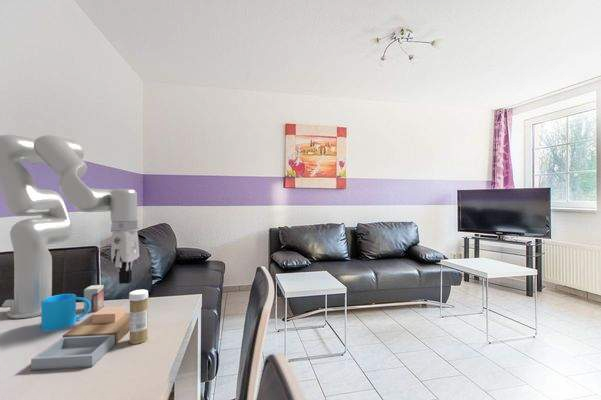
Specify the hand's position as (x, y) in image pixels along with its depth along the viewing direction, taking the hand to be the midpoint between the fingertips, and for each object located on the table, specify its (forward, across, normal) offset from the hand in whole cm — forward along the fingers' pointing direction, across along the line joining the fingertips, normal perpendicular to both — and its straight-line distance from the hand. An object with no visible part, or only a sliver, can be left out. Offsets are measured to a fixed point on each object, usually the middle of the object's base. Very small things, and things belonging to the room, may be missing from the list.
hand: (125, 282), depth 96 cm
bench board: (+11, -12, +1) cm, 16 cm away
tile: (+8, -9, +1) cm, 12 cm away
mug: (+11, -3, +16) cm, 20 cm away
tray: (+11, -24, +1) cm, 27 cm away
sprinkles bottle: (+12, -17, -11) cm, 24 cm away
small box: (+11, +8, +14) cm, 20 cm away
